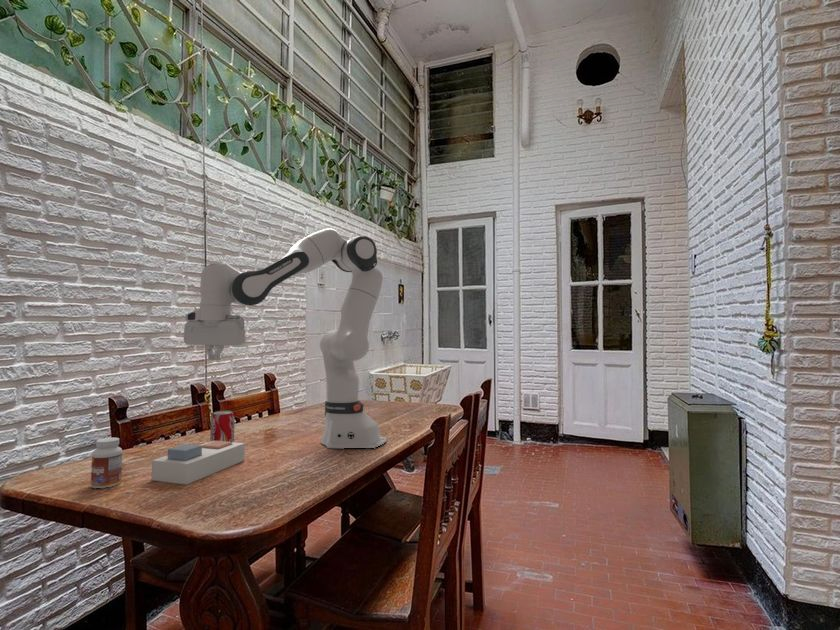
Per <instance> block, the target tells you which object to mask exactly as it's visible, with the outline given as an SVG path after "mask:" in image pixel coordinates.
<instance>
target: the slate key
mask: <svg viewBox="0 0 840 630" xmlns="http://www.w3.org/2000/svg"><path fill="white" fill-rule="evenodd" d="M167 455H168V459H169V460H179V461H187V460H190V459H193V458H196V457H199V456H202V445H201V444H192V443H191V444H188V443H183V444H180V445H177V446H174V447H171V448H168V449H167Z"/></svg>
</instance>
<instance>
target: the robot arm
mask: <svg viewBox="0 0 840 630" xmlns="http://www.w3.org/2000/svg"><path fill="white" fill-rule="evenodd" d="M377 253H378V250H377V245H376V243H375V242H374V240H373V239H372V238H371V237H369V236H366V235H356V236H354V237H352V238H350V239H348V240H346V239H344V238H343V237H342V236H341V234H340V233H339V232H338V230H336V229H334V228H331V227H330V228H329V227H328V228H324V229H320V230H318V231H315V232H313V233H311V234H309V235H306V236H305V237H303V238H302V239H300V240H298V241H296V243H294V244H293V245H291V247H290V248H289V249H288V251H287V252H286V254H285V255H284V256H283V257H281V258H280V259H278V260H277V261H275V262H273V263H271V264H269V265H268V266H266V267H264V268H261V269H259V270H249V271H244V272H241V271H239V270H237V269H235V268H234V267H233V266H231V265H230V264H229V263H228V262H227V263H226V262H216V263H209V264H208V265H206V266H204V268H203V269H202V271H201V276H200V289H199V292H200V301H199V308H198V309H195V310H193V311H190V312H188V313H186V314H185V316H184V319H185V321H186V322H185V324H184V327H183V342H184V343H185V345H187V346H204V350H205V352H206V354H207V355H208V356H207V360H208V361H220V360H221V355H222V352H223V351H224V350H225V349H224V348H225V347H224V346H227V347H228V346H230V347H231V346H234V347H235V346H237V347H239V346H244V345H245V344H246V340H247V339H246V330H245V328H246V327H245V319H244V318H243V317H242V316H241V315H239V314H238V315H237V314H236V315H232V314H231V313H232V304H236V305H239V306H243V307H249V306H256V305H259V304H260V303H262V302H263V301H264V300H265V299H266V298H267V296H268V295H269V293H270V292H271V291H272V289H273V288H275V287H276V286H278V285H279V284H281V283H283V282H284V281H285V280H287V279H289V278H291V277H293V276H295V275H298V274H307V273H310V272H313V271H314V270H316V269H318V268H321V267H322V266H323V265H326V264H327V263H329V262H332V263H333V264H335V265H336V267H337V268H338V269H339V270H341V271H342V272H345V273H351V275H352V279H351V283H350V285H349V288H348V289H347V292H346V295H345V298H344V300H343V303H342V305H341V307H340V321H339V326H338V328H337V329H333V330H330V331H328V332H326V333H325V334H323V336H322V337H321V339H320V343H319V348H320V352H321V353H322V356H323V364H324V371H325V377H326V378H325V380H326V396H325V398H326V400H325V402H324V416H325V420H324V427H323V432H322V437H321V441H320V444H322V445H324V446H325V447H326V448H327V449H344V448H374V449H376V448H375V447H378V446H380V445H382V444H384V443H385V442H386V443H387V437H385V436H381V432H380V431H381V430H380V427H379V424H378V422H376V421H375V420H374V419H373V418H372V417H370V416H369V415H368V414H367V413H365V412H364V407H366V405H365V404H366V402H362V401H360V400H359V393H360V392H359V383H360V381H359V376H358V374H357V371H356V368H355V362H356V361H359V360H361V359H363V358H365V356H366V355H367V353H368V352H369V349H370V347H369V346H370V344H369V340H368V337H369V336H368V335H369V328H370V321H371V318H372V316H373V313H374V310H375V308H376V305H377V302H378V299H379V296H380V294H381V290H382V289H381V288H382V286H383V280H384V277H383V273H382V272H381V270H379V268H378V267H377V268H376V266H377V264H378V259H377V256H378V255H377ZM214 349H215V353H214V351H213V350H214ZM386 443H385V444H386ZM385 444H384V445H385ZM382 446H383V445H382ZM380 447H381V446H380ZM378 448H379V447H378Z"/></svg>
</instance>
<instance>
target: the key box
mask: <svg viewBox="0 0 840 630" xmlns="http://www.w3.org/2000/svg"><path fill="white" fill-rule="evenodd" d="M211 442H213V441H211ZM207 443H210V441H209V442H205V443H203V444H200V445H204V444H207ZM245 447H246V443H245V442H235V441H234V442H232V445H230V446H227V447H224V448H221V449H209V448H202V456H199V457H196V458H193V459H190V460H187V461H179V460H169V459H168V454H167V455H164V456H161V457H158V458H155V459H152V460H151V478H150V480H151V481H153V482H154V481H156V482H164V483H171V484H179V485H189V484H192V483H194V482H196V481H199V480H201V479H203V478H206V477H208V476H210V475H213V474H216V473H218V472H220V471H222V470H224V469H227V468H230V467H232V466H234V465H236V464H239V463H241V462H244V461H245V460H246V459H245V456H246V455H245V450H246V448H245Z"/></svg>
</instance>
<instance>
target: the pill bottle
mask: <svg viewBox="0 0 840 630" xmlns="http://www.w3.org/2000/svg"><path fill="white" fill-rule="evenodd" d="M119 445H120V438H119V437H105V438H104V437H103V438H99V439H97V440H96V442H95V446H96V449H94V451H92V453H91V471H90V487H91V488H92V489H96V488H101V489H107V488H106V487H109V488H113V487H115V485H116V486H117V485H119V484H120V483H121V482H122V470H123V469H122V468H123V449H122V448H121V447H120V446H119ZM112 486H113V487H112Z"/></svg>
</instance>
